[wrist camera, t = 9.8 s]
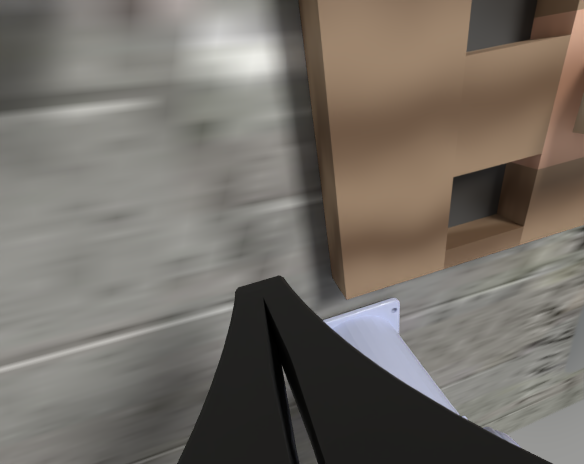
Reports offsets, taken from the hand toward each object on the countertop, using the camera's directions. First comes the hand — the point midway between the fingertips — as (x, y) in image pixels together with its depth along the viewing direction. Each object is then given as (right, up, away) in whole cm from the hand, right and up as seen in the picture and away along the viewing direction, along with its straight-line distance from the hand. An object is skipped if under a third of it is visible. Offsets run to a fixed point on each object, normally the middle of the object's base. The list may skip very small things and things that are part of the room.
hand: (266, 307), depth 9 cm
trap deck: (+13, +10, +9) cm, 19 cm away
